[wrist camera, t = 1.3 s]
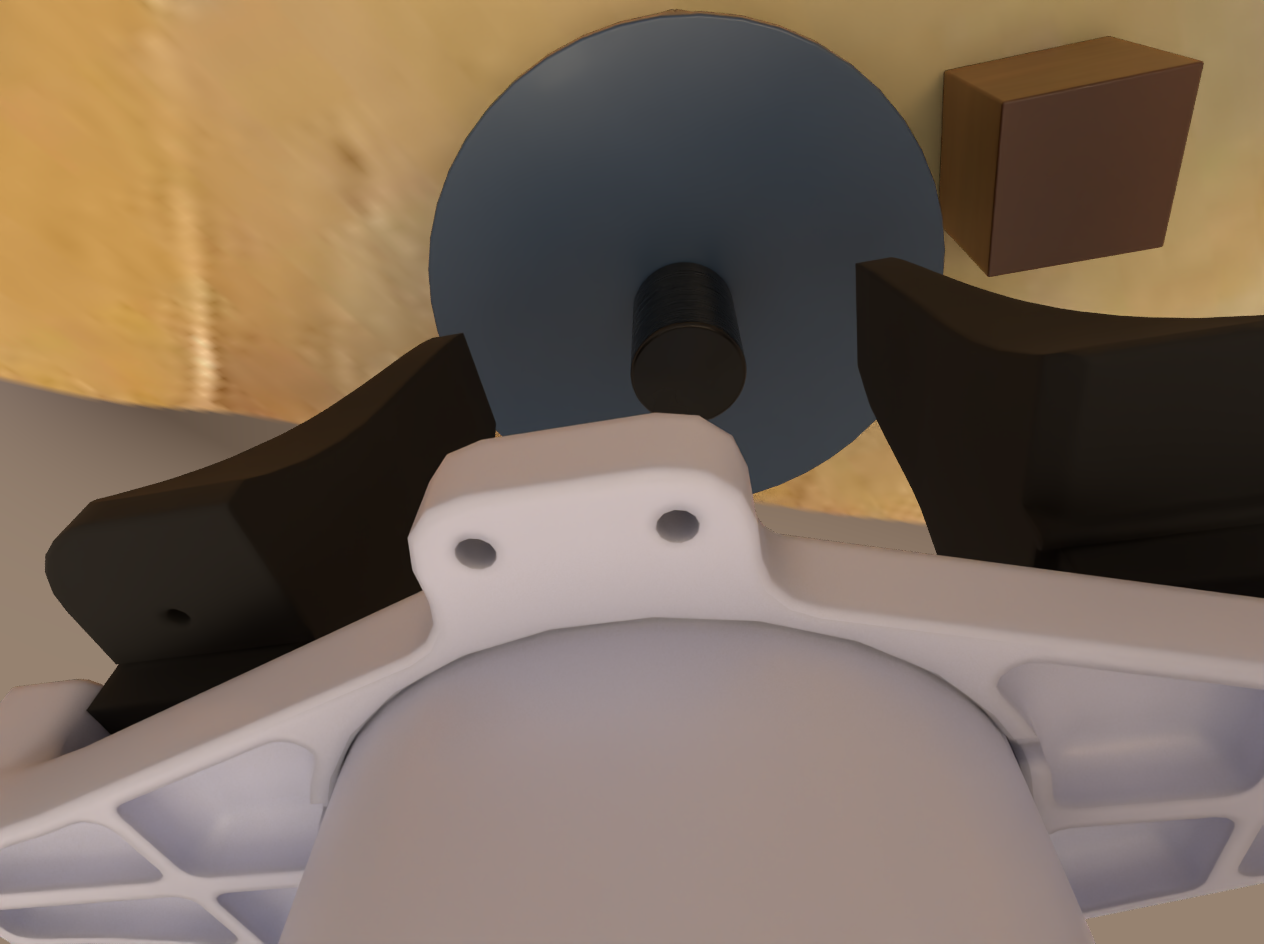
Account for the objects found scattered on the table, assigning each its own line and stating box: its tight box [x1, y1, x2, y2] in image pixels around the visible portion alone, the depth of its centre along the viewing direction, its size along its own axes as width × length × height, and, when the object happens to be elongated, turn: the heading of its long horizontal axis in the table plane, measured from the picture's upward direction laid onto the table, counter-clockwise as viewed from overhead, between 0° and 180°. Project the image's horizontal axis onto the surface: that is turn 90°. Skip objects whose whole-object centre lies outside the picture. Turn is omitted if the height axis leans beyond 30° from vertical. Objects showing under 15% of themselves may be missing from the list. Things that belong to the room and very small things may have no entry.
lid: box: [428, 11, 945, 494], centre depth 17 cm, size 12×12×4 cm
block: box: [939, 36, 1203, 277], centre depth 19 cm, size 4×4×4 cm
